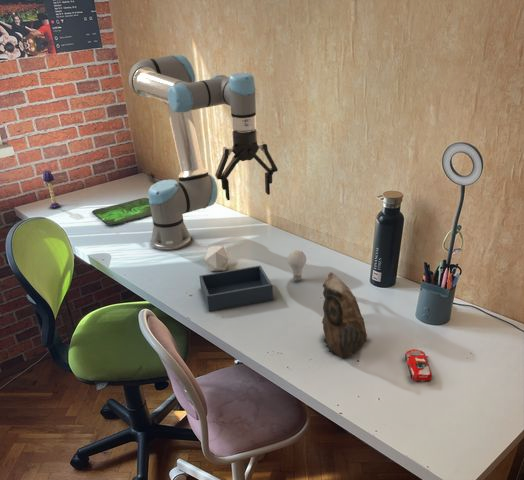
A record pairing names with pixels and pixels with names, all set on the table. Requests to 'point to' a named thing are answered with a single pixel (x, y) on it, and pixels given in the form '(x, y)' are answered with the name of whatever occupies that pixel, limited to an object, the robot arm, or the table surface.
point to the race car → (418, 366)
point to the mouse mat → (124, 211)
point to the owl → (342, 319)
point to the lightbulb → (297, 263)
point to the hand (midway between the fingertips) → (247, 196)
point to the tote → (236, 288)
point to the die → (217, 258)
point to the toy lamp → (50, 188)
